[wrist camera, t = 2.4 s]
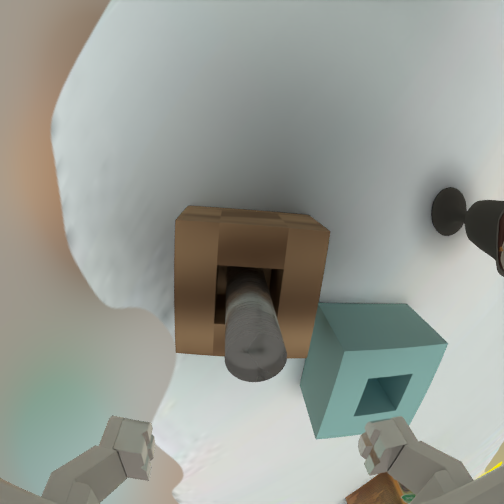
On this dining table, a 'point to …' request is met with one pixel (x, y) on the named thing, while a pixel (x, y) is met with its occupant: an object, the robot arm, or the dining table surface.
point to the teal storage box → (367, 366)
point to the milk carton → (381, 492)
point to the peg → (251, 327)
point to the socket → (246, 255)
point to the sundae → (472, 222)
